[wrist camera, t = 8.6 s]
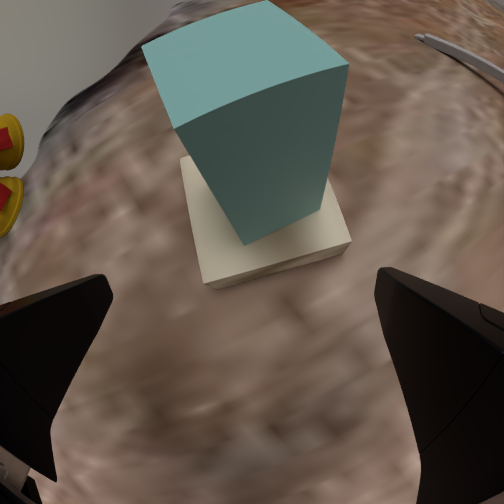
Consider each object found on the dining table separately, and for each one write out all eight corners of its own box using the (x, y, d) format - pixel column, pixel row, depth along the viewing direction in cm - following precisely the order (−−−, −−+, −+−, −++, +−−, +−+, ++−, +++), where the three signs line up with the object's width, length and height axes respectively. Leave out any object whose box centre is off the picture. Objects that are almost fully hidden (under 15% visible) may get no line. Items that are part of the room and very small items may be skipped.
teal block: (244, 245, 17) (174, 129, 6) (213, 179, 18) (141, 46, 8) (320, 209, 17) (349, 63, 6) (282, 147, 18) (267, 0, 8)
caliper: (540, 129, 19) (563, 103, 12) (540, 134, 19) (564, 108, 12) (415, 36, 24) (425, 0, 18) (413, 38, 24) (423, 1, 18)
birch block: (218, 290, 20) (203, 283, 17) (194, 180, 22) (179, 158, 19) (342, 254, 19) (351, 240, 16) (302, 149, 22) (302, 122, 18)
